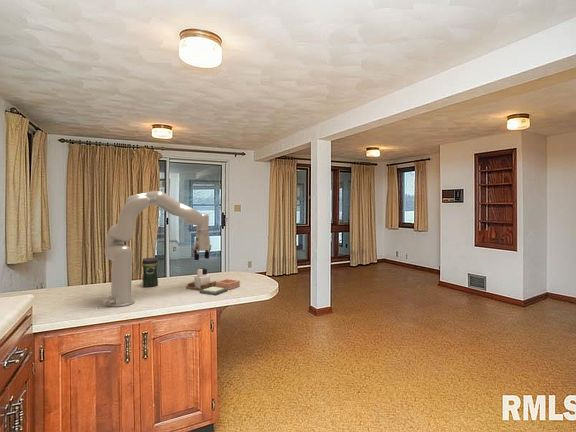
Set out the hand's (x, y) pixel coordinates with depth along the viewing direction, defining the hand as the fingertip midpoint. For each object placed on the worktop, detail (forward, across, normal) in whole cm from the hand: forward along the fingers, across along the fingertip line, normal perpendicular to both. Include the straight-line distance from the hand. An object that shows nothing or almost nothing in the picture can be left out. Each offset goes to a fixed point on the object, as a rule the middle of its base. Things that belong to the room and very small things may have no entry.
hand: (201, 259), depth 217 cm
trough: (+18, +1, 0) cm, 18 cm away
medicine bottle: (+18, +1, 0) cm, 18 cm away
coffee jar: (+19, -13, +32) cm, 39 cm away
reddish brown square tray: (+18, +8, -15) cm, 25 cm away
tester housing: (+18, -6, -15) cm, 25 cm away
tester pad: (+18, -6, -15) cm, 24 cm away
